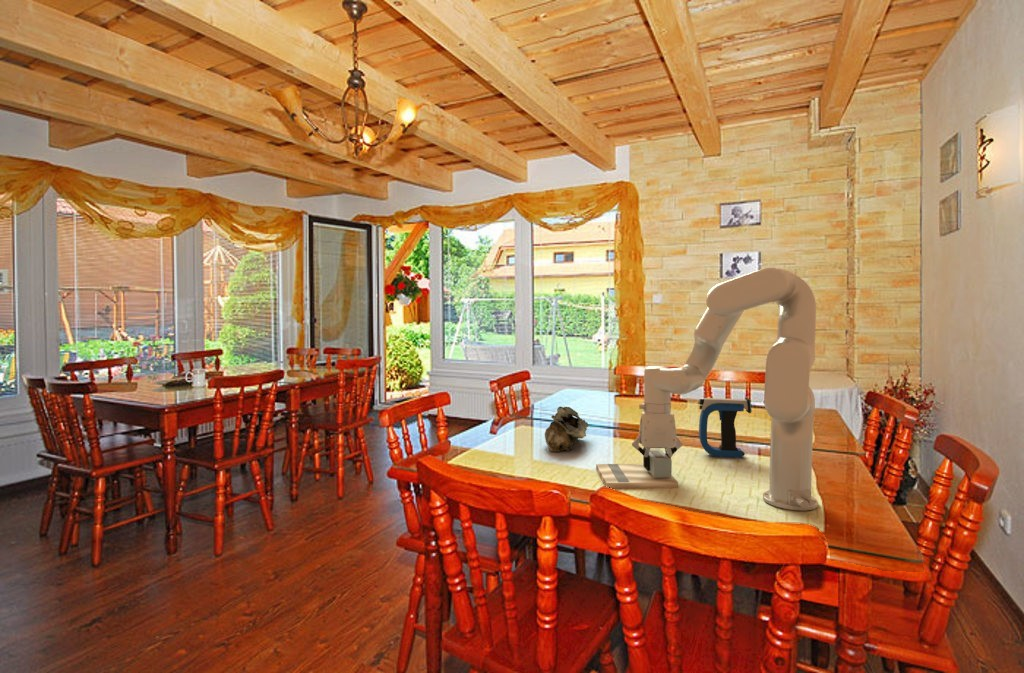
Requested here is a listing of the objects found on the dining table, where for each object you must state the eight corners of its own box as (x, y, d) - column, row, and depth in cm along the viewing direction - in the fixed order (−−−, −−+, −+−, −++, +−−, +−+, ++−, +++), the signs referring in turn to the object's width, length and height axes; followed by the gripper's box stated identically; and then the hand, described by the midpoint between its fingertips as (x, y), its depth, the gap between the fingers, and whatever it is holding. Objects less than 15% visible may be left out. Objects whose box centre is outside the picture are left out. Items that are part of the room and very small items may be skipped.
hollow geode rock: (573, 447, 213) (548, 418, 217) (597, 426, 210) (571, 397, 213) (553, 465, 187) (524, 431, 191) (579, 441, 184) (550, 407, 187)
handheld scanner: (751, 459, 179) (752, 399, 178) (700, 456, 182) (700, 398, 181) (748, 455, 183) (749, 397, 182) (698, 453, 186) (698, 396, 186)
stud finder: (671, 477, 155) (671, 459, 154) (653, 477, 155) (653, 459, 154) (659, 465, 167) (660, 448, 166) (643, 465, 167) (643, 448, 166)
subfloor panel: (678, 487, 152) (678, 481, 152) (606, 488, 152) (606, 482, 152) (660, 468, 170) (660, 463, 170) (596, 468, 170) (596, 463, 170)
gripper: (631, 411, 156) (630, 473, 157) (690, 410, 156) (690, 472, 157) (625, 406, 163) (625, 466, 164) (682, 405, 163) (681, 465, 164)
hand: (657, 468), depth 161 cm, fingers closed on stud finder, 5 cm apart
